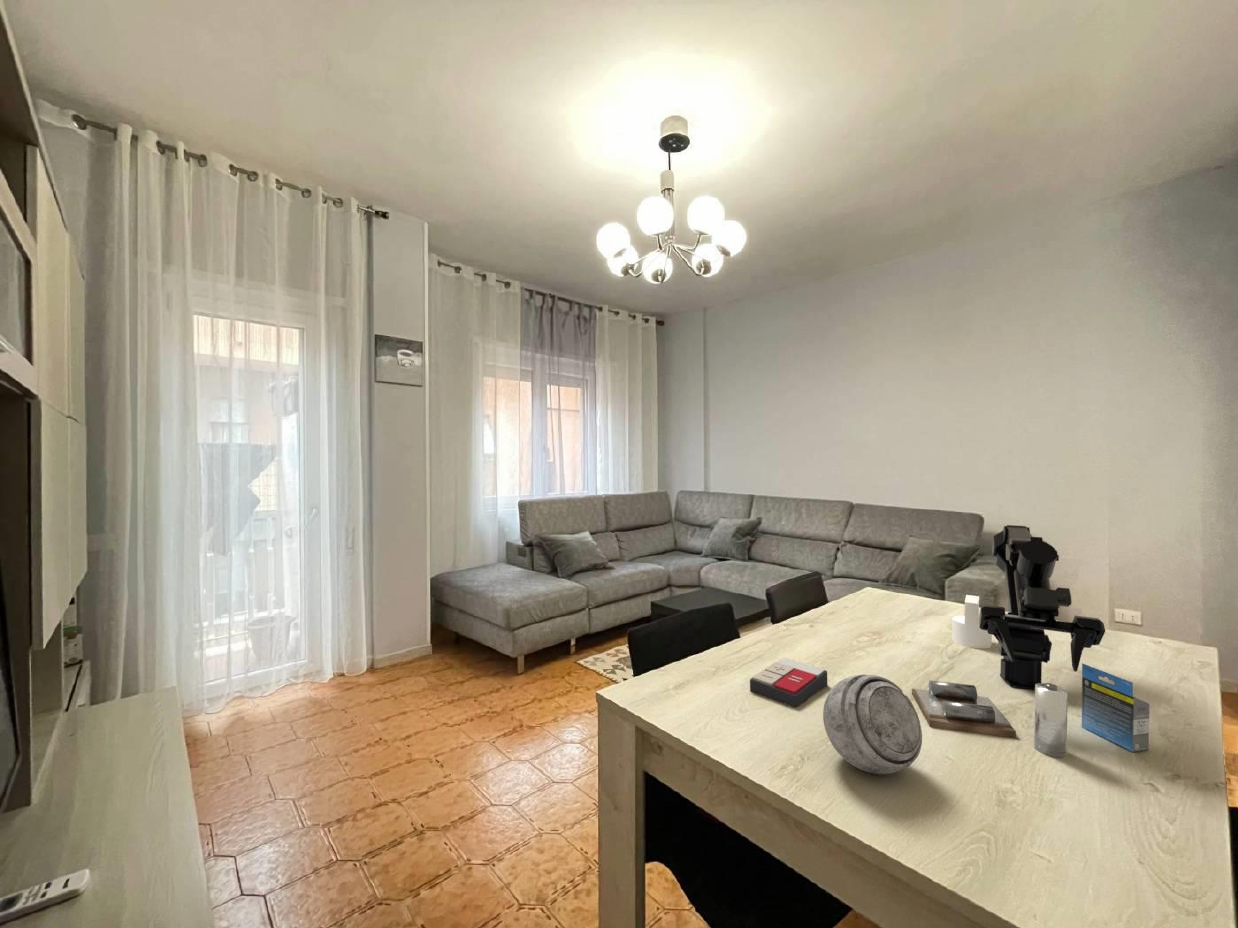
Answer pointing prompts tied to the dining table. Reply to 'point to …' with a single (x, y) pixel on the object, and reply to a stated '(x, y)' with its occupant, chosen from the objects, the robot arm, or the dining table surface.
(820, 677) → the calculator
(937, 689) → the hinge leaves
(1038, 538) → the robot arm
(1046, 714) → the hinge barrel
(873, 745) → the decorative orb
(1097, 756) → the dining table surface
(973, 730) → the board
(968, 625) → the cylinder with rectangular tab
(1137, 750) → the ink cartridge box
